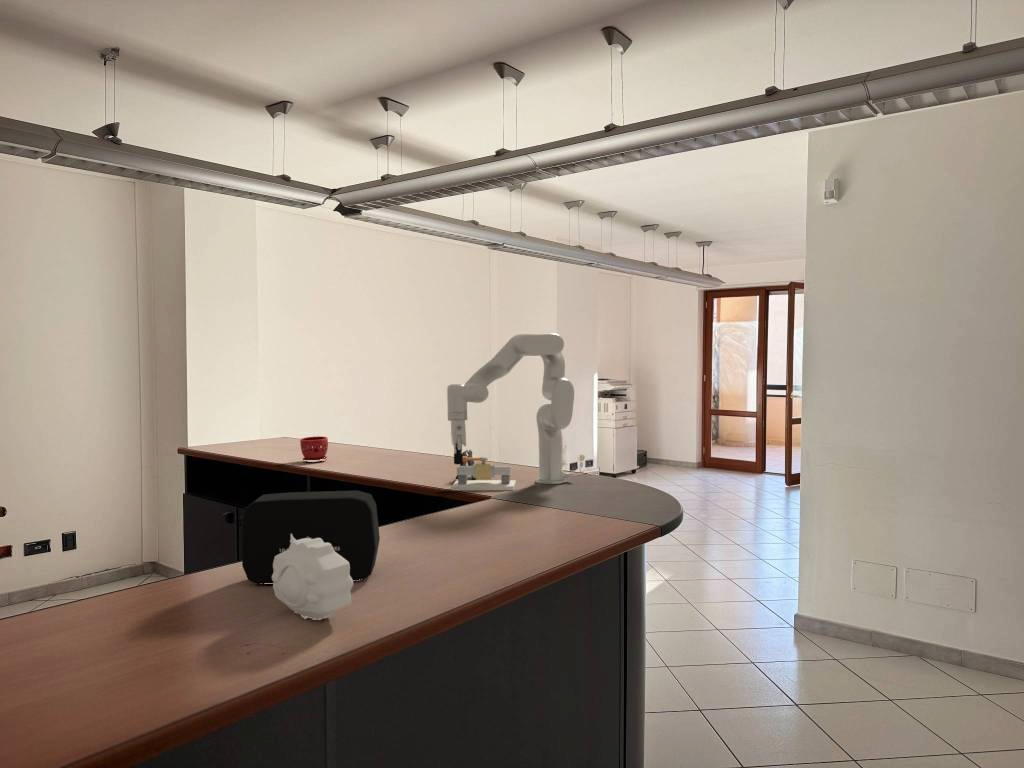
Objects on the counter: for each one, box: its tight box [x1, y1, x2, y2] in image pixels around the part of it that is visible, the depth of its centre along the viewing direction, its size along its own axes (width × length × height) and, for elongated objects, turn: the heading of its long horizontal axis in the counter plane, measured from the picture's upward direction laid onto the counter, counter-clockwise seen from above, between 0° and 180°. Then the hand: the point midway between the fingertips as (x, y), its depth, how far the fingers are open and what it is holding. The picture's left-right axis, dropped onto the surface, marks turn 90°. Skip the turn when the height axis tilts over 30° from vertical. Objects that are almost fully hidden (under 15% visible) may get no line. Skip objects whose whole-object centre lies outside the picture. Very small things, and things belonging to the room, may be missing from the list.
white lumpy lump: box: [272, 534, 354, 619], centre depth 142 cm, size 11×18×16 cm, turn 52°
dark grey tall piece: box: [455, 449, 476, 480], centre depth 296 cm, size 9×6×12 cm, turn 79°
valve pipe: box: [456, 461, 512, 480], centre depth 278 cm, size 21×6×7 cm, turn 86°
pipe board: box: [451, 475, 517, 491], centre depth 278 cm, size 24×13×5 cm, turn 86°
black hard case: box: [241, 490, 381, 584], centre depth 168 cm, size 30×12×20 cm, turn 94°
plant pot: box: [299, 435, 329, 461], centre depth 351 cm, size 13×13×12 cm
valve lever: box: [463, 455, 488, 462], centre depth 278 cm, size 12×3×2 cm, turn 83°
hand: (458, 463), depth 271 cm, fingers closed
